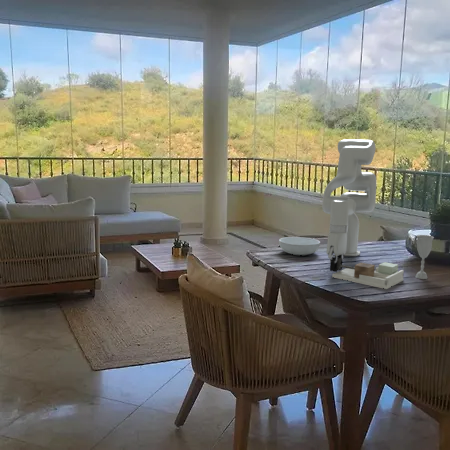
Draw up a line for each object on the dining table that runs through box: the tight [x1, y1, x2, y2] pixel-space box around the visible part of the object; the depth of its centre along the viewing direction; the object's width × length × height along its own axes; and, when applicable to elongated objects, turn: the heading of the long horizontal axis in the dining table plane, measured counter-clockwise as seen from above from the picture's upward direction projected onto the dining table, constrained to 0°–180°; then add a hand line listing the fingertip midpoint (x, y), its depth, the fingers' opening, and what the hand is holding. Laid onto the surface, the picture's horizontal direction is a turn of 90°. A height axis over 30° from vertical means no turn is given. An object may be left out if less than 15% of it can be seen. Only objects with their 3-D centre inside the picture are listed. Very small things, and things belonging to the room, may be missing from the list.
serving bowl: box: [278, 236, 321, 256], centre depth 255 cm, size 21×21×7 cm
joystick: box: [334, 257, 376, 278], centre depth 212 cm, size 18×6×6 cm, turn 50°
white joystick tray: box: [332, 261, 405, 290], centre depth 211 cm, size 24×17×7 cm
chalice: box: [415, 234, 435, 280], centre depth 214 cm, size 7×7×18 cm
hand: (335, 269), depth 217 cm, fingers closed on joystick, 3 cm apart
